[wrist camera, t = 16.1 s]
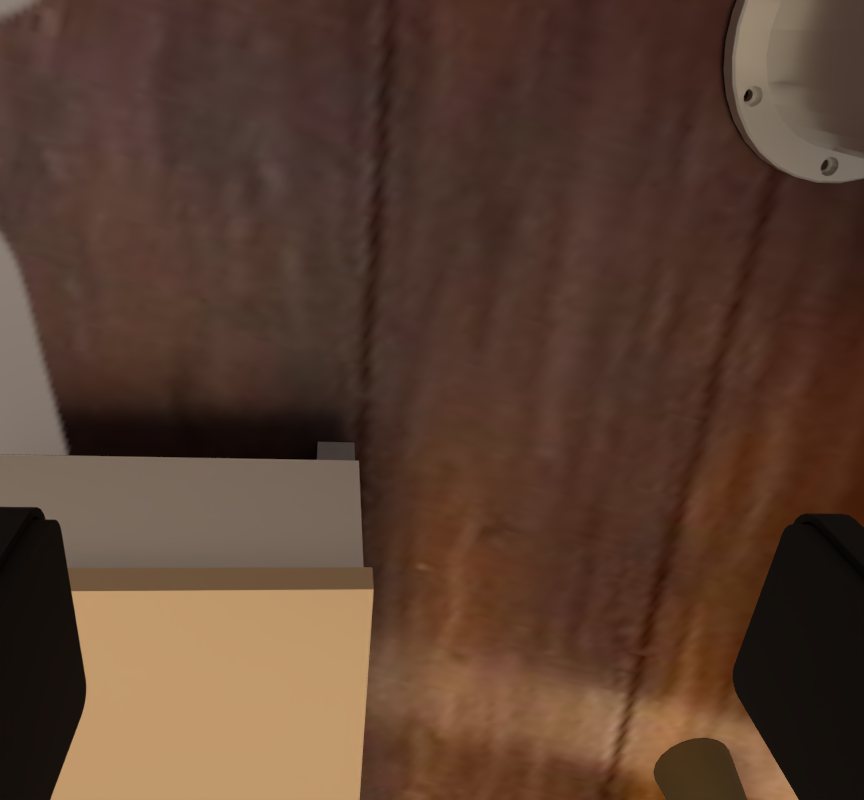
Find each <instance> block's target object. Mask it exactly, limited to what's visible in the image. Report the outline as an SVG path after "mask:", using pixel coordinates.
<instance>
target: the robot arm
mask: <svg viewBox="0 0 864 800" xmlns="http://www.w3.org/2000/svg"><path fill="white" fill-rule="evenodd" d="M723 70H724V80H725V90H726V98H727V101H728V104H729V108H730V111H731V114H732V118H733V121H734V123H735V125H736V126H737V128H738V130H739V132H740V134H741V135H742V137H743V139H744V141H745V142H746V143H747V144H748V145H749V147H750V148H751V149H752V150H753V151H754V152H755V153H756V154H757V156H758V157H759V158H761V159H762V160H764V161H765V162H766V163H768V164H769V165H771V166H772V167H774V168H775V169H777V170H779V171H781V172H784V173H787V174H789V175H791V176H794V177H797V178H801V179H805V180H809V181H813V182H817V183H844V182H849V181H855V180H861V179H864V0H737V1H736V4H735V6H734V9H733V11H732V15H731V20H730V24H729V28H728V32H727V37H726V41H725V55H724V68H723ZM746 91H748V97H747V98H746V99H745V100H744V95H745V93H746ZM822 163H823V164H822ZM821 165H822V166H821ZM733 683H734V687H735V691H736V693H737V695H738V697H739V699H740V701H741V702H742V704H743V706H744V708H745V709H746V711H747V713H748V714H749V716H750V718H751V719H752V721H753V723H754V724H755V726H756V728H757V730H758V731H759V733H760V735H761V736H762V738H763V740H764V741H765V743H766V745H767V746H768V748H769V750H770V752H771V753H772V755H773V757H774V758H775V760H776V762H777V763H778V765H779V767H780V768H781V770H782V772H783V774H784V775H785V777H786V779H787V780H788V782H789V784H790V785H791V787H792V789H793V790H794V792H795V794H796V796H797V797H798V799H799V800H864V528H863V527H862V526H861V525H860V524H859V523H858V522H857V521H856V520H855V519H853V518H852V517H850V516H849V515H845V514H803V515H800V516H799V517H798V518H797V519H796V520H795V522H794V524H792V525H789V526H788V527H786V528H785V530H784V532H783V534H782V536H781V539H780V542H779V545H778V547H777V550H776V553H775V555H774V558H773V561H772V564H771V566H770V569H769V572H768V575H767V577H766V580H765V583H764V586H763V588H762V591H761V594H760V597H759V599H758V602H757V605H756V607H755V610H754V613H753V616H752V618H751V621H750V624H749V627H748V629H747V632H746V635H745V638H744V640H743V643H742V646H741V649H740V651H739V654H738V657H737V659H736V662H735V665H734V669H733ZM85 699H86V678H85V671H84V665H83V659H82V653H81V647H80V641H79V635H78V629H77V623H76V617H75V610H74V604H73V598H72V592H71V586H70V580H69V574H68V568H67V562H66V556H65V549H64V543H63V537H62V531H61V527H60V524H59V522H58V521H57V520H47V519H45V516H44V513H43V512H42V510H41V509H40V508H38V507H0V800H50V799H51V796H52V794H53V791H54V788H55V786H56V783H57V780H58V778H59V775H60V772H61V770H62V767H63V764H64V762H65V759H66V756H67V753H68V751H69V748H70V745H71V743H72V740H73V737H74V735H75V732H76V729H77V727H78V724H79V721H80V719H81V716H82V713H83V709H84V705H85Z"/></svg>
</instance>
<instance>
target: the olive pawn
mask: <svg viewBox="0 0 864 800" xmlns="http://www.w3.org/2000/svg"><path fill="white" fill-rule="evenodd" d="M654 776H655V780H656V782H657V784H658V785H659V787H660V789H661V790H662V792H663V794H664V796H665V797H666V799H667V800H747V798H746V795H745V792H744V790H743V787H742V784H741V782H740V779H739V776H738V774H737V771H736V768H735V765H734V763H733V760H732V757H731V755H730V752H729V750H728V749H727V747H726V746H725V745H724V744H723V743H721V742H719V741H717V740H713V739H708V738H701V739H692V740H688V741H685V742H681V743H680V744H678V745H676V746H674V747H672V748H670V749H669V750H668V751H667V752H665V753H664V754H663V755H662V756H661V757H660V759H659V760H658V761H657V763H656V765H655V769H654Z"/></svg>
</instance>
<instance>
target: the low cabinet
mask: <svg viewBox="0 0 864 800" xmlns="http://www.w3.org/2000/svg"><path fill="white" fill-rule="evenodd" d="M0 507H38V508H40V509H41V510H42V512H43V513H44V516H45V519H47V520H57V521H58V522H59V524H60V527H61V531H62V537H63V543H64V549H65V556H66V562H67V568H68V574H69V580H70V586H71V592H72V598H73V604H74V610H75V617H76V623H77V629H78V635H79V641H80V647H81V653H82V659H83V665H84V671H85V678H86V699H85V705H84V709H83V713H82V716H81V719H80V721H79V724H78V727H77V729H76V732H75V735H74V737H73V740H72V743H71V745H70V748H69V751H68V753H67V756H66V759H65V762H64V764H63V767H62V770H61V772H60V775H59V778H58V780H57V783H56V786H55V788H54V791H53V794H52V796H51V799H50V800H359V798H360V783H361V769H362V754H363V739H364V724H365V709H366V695H367V680H368V665H369V650H370V636H371V621H372V606H373V591H374V587H373V570H372V567H363V544H362V522H361V499H360V476H359V461H355V446H354V443H353V442H318V446H317V460H294V459H237V458H180V457H123V456H66V455H9V454H8V455H7V454H0Z"/></svg>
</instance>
